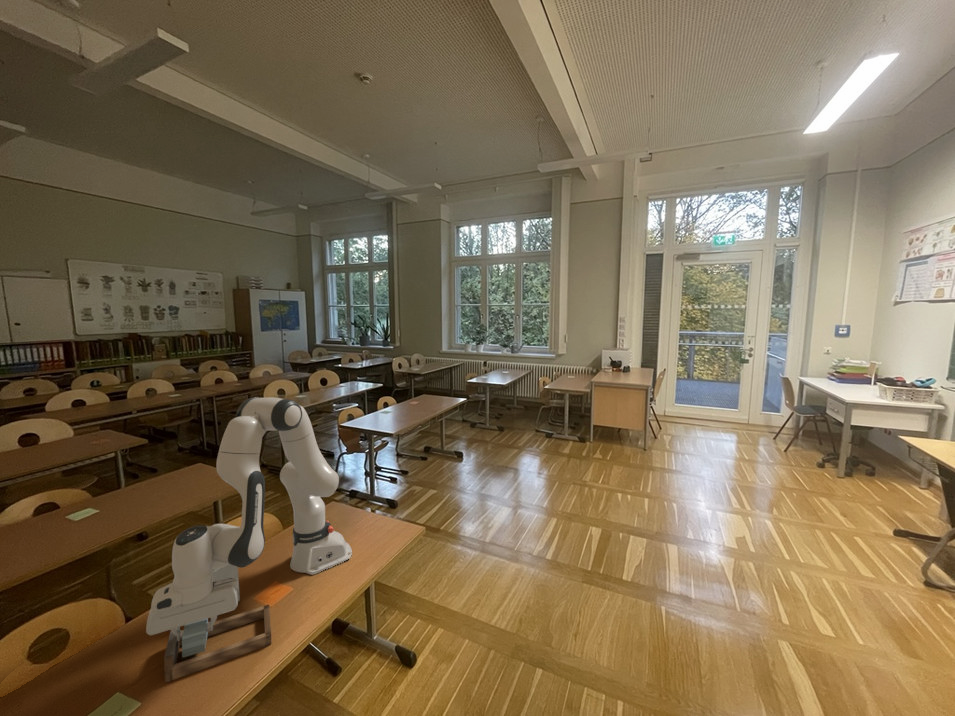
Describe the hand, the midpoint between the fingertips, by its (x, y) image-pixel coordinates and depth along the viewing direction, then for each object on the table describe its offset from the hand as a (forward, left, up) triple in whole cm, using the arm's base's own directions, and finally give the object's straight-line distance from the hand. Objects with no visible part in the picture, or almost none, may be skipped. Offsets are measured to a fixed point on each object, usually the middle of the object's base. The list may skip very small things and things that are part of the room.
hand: (195, 634), depth 105 cm
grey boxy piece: (0, 0, -3) cm, 3 cm away
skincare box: (-5, -18, -6) cm, 20 cm away
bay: (-6, 0, -6) cm, 8 cm away
